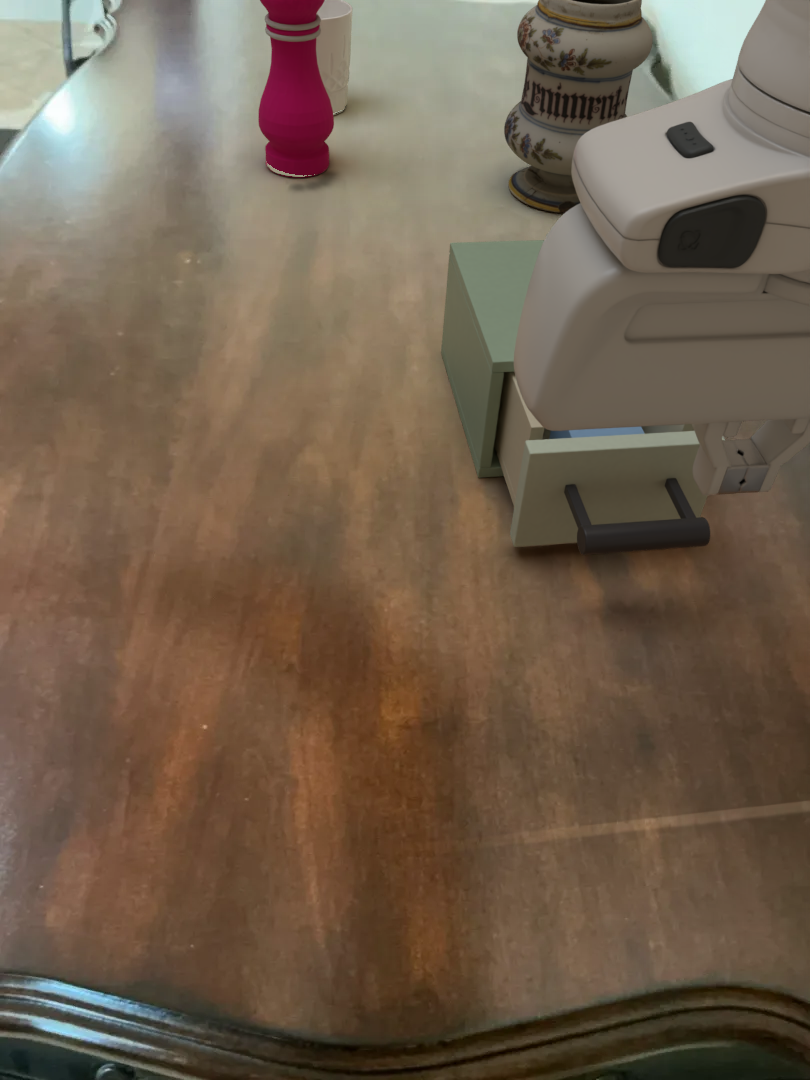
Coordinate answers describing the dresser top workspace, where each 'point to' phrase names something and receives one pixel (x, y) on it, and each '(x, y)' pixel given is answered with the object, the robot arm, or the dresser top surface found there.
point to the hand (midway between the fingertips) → (728, 484)
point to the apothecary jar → (570, 88)
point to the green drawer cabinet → (484, 334)
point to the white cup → (335, 50)
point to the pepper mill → (295, 91)
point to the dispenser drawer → (599, 484)
